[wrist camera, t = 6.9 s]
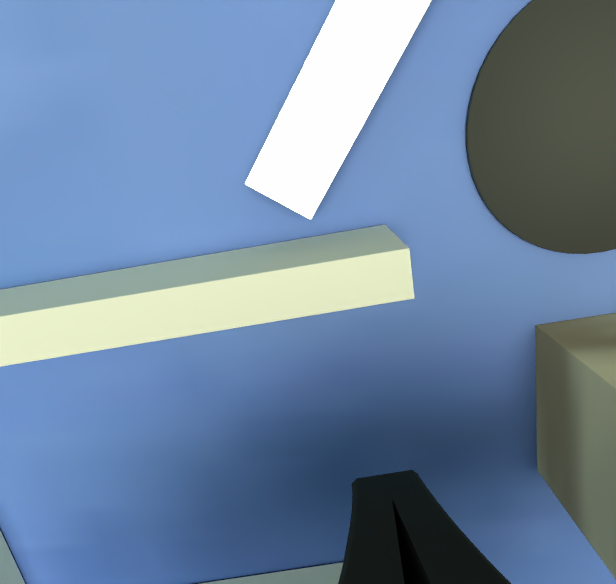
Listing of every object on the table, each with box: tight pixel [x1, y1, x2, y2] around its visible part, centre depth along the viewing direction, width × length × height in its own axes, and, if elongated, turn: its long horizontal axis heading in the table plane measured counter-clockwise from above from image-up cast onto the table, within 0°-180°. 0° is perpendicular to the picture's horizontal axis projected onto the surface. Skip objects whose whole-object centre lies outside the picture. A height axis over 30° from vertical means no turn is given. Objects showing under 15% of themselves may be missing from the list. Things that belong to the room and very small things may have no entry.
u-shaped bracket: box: [0, 225, 414, 584], centre depth 12 cm, size 13×11×2 cm
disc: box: [466, 0, 616, 254], centre depth 10 cm, size 6×6×1 cm
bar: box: [245, 0, 432, 220], centre depth 9 cm, size 10×6×2 cm, turn 151°
